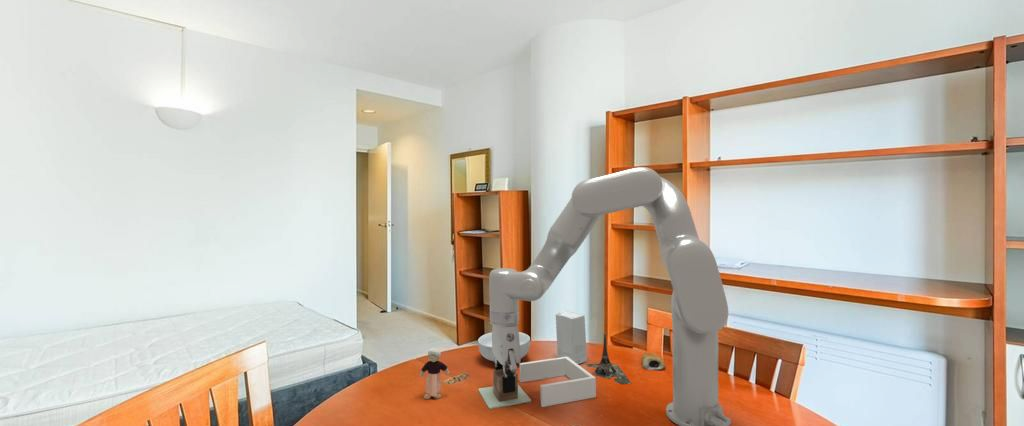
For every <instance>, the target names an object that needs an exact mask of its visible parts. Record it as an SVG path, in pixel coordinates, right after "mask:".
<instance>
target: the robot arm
mask: <svg viewBox="0 0 1024 426" xmlns="http://www.w3.org/2000/svg"><path fill="white" fill-rule="evenodd" d="M639 207H643V208H645V209H646V211H647V212H648V213H649V215H650V216H651V219H652V223H653V227H654V229H655V233H656V236H657V237H656V238H657V240H658V245H659V249H660V254H661V260H662V264H663V265H664V267H665V269H666V270H667V272H668V275H669V279H670V283H671V286H672V294H671V299H670V310H671V322H672V323H671V324H672V325H671V326H672V396H673V397H672V402H669V403H668V404H667V405H666V408H665V411H666V416H667V417H668V419H669V420H670V421H672V423H675V424H676V425H678V426H730V425H731V423H732V419H731V418H729V417H728V416H726V415H725V413H723V405H721V404H719V333H718V332H719V331H721V330H722V329H723V328H724V326H725V325H726V324H727V321H728V319H729V306H728V301H727V296H726V293H725V289H724V285H723V281H722V278H721V275H720V271H719V266H718V263H717V260H716V257H715V255H714V253H713V251H712V249H711V248H710V247H709V245H708V244H707V243H705V242H704V241H702V240H700V238H699V234H698V232H697V228H696V225H695V222H694V219H693V215H692V212H691V210H690V207H689V203H688V202H687V200H686V198H685V196H684V194H683V193H682V192H681V190H680V189H679V188H678V187H677V186H676V185H674V183H672V182H671V181H669V180H667V179H666V178H664V177H662V176H660V175H659V173H658V172H657V171H656V170H654V169H652V168H650V167H646V166H638V167H633V168H629V169H628V168H627V169H626V170H621V171H618V172H613V173H610V174H605V175H601V176H597V177H593V178H592V177H591V178H588V179H584V180H582V181H580V182H578V183H577V184H576V185H575V187H574V188H573V190H572V193H571V198H569V201H568V202H567V203H566V205H565V207H564V208H563V210H561V213H560V214H559V216H557V218H556V219H555V221H554V222H553V223H552V225H551V227H550V228H549V229H548V230H549V231H548V233H547V236H546V240H545V242H544V245H543V246H542V248H541V249H540V251H539V253H538V254H537V256H536V257H535V258H534V260H533V261H532V262H531V264H530V266H529V267H528V268H527V269H526V270H523V271H518V270H516V269H514V268H510V267H509V268H508V267H499V268H494V269H492V270H491V271H490V272H489V277H488V278H489V279H488V280H489V282H488V283H489V285H488V288H489V289H488V290H489V293H488V294H489V324H490V325H491V326H492V327H491V328H492V330H491V332H492V352H493V355H494V356H495V362H494V370H499V369H503V372H504V377H502V379H503V393H509V392H514V391H515V376H516V374H517V373H516V372H517V370H518V366H517V365H520V363H522V362H521V359H522V358H520V341H519V332H520V331H519V325H518V324H520V323H519V322H520V316H519V315H520V313H519V312H520V305H519V300H521V301H527V302H535V301H537V300H540V299H541V298H542V297H543V296H544V295H545V293H546V292H547V291H548V290H549V288H550V287H551V285H552V284H553V283H554V281H555V280H556V278H557V277H558V276H559V274H560V273H561V271H562V270H563V268H564V267H565V265H566V264H567V263H568V261H569V260H570V259H571V258H572V257H573V256H574V255H575V254H576V253H577V251H578V250H579V249H580V247H581V246H582V244H583V243H584V241H585V240H586V239H587V237H588V236H589V234H590V233H591V231H592V230H593V229H594V227H595V226H596V224H597V222H598V221H599V220H600V219H601V217H602V215H607V214H611V213H616V212H621V211H626V210H629V209H633V208H635V209H636V208H639ZM507 361H509V364H506V362H507ZM506 368H509V369H508V370H507V369H506ZM515 373H516V374H515Z"/></svg>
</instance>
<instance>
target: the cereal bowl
mask: <svg viewBox="0 0 1024 426" xmlns="http://www.w3.org/2000/svg"><path fill="white" fill-rule="evenodd" d="M519 341H520V359H522V358H524V357H526V355H527V353H529V350H530V347H531V336H529V335H528V334H527V333H524V332H520V331H519ZM477 344H478V345H477V346H478V350H479V352H480V354H481V355H482V357H483V358H484V359H486V360H488V361H491V362H493V363H495V356H494V355H493V352H492V331H491V332H488V333H485V334H483V335H481V336H480V337H479V338H478V339H477ZM506 364H509V361H507V362H506Z"/></svg>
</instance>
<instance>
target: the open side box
mask: <svg viewBox="0 0 1024 426" xmlns="http://www.w3.org/2000/svg"><path fill="white" fill-rule="evenodd" d="M563 376H565V377H568V378H569V380H563V381H557V382H551V383H545V384H540V406H541V407H542V408H545V407H550V406H557V405H561V404H566V403H572V402H576V401H582V400H588V399H594V398H596V397H597V389H596V387H597V383H596V382H597V379H596V376H594V374H592V373H590V372H589V371H587V370H586V369H585V368H583V367H582V366H581V365H579V364H577V363H575V362H574V361H573V360H571V359H570V358H568V357H560V358H558V357H556V358H554V357H553V358H547V359H540V360H533V361H526V362H520V364H519V382H520V383H526V382H531V381H538V380H543V379H544V380H545V379H550V378H551V379H552V378H556V377H563Z"/></svg>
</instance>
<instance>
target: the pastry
mask: <svg viewBox="0 0 1024 426" xmlns="http://www.w3.org/2000/svg"><path fill="white" fill-rule="evenodd" d="M640 361H641V363H642V368H643V369H644V370H648V371H662V370H664V369H665V367H666V364H665V361H664V360H663V358H662V357H661V356H660V355H658V354H656V353H651V352H646V353H643V354H642V355H641V359H640Z"/></svg>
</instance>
